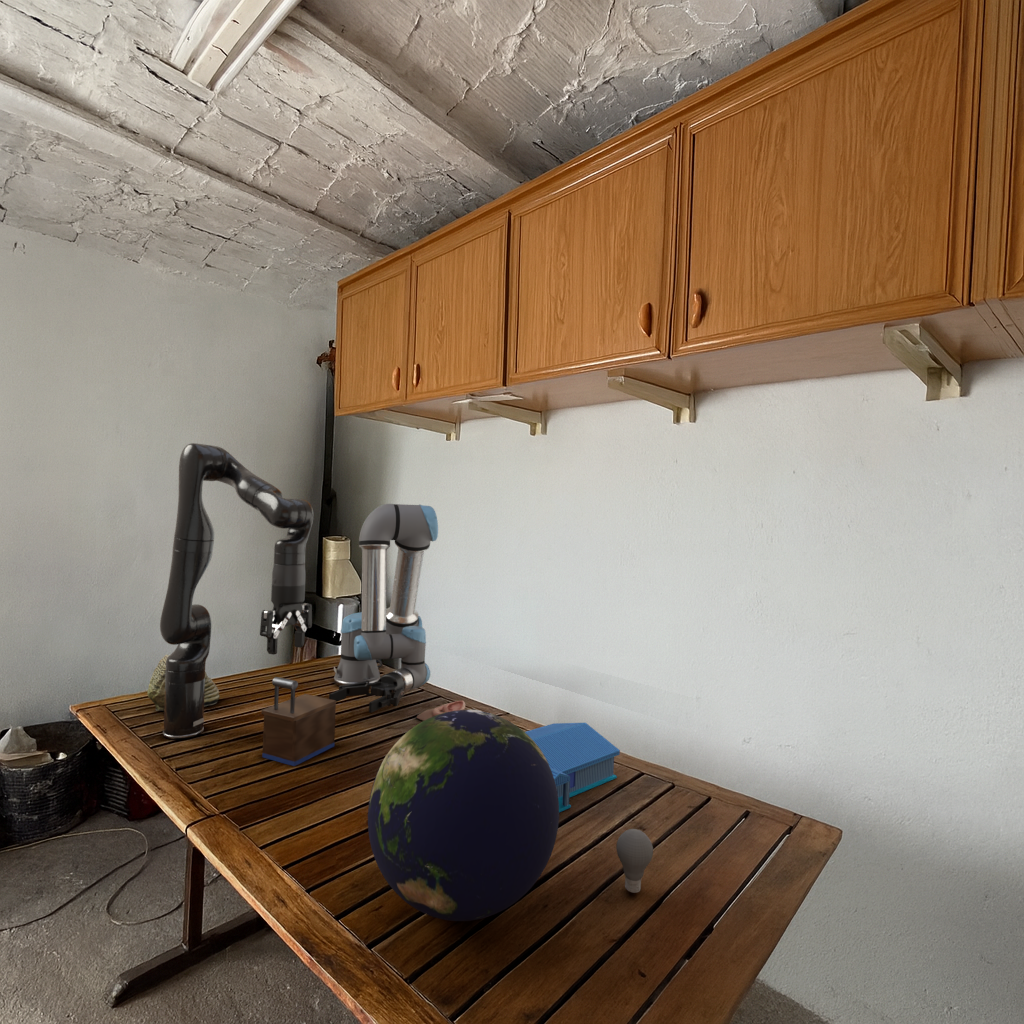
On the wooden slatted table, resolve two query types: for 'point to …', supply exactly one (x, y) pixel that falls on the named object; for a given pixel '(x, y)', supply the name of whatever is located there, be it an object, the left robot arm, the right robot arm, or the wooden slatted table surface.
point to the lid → (295, 702)
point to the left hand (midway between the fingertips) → (286, 650)
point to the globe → (463, 815)
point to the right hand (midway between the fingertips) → (349, 703)
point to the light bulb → (634, 857)
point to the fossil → (158, 687)
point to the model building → (575, 757)
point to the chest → (298, 736)
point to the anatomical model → (442, 710)
